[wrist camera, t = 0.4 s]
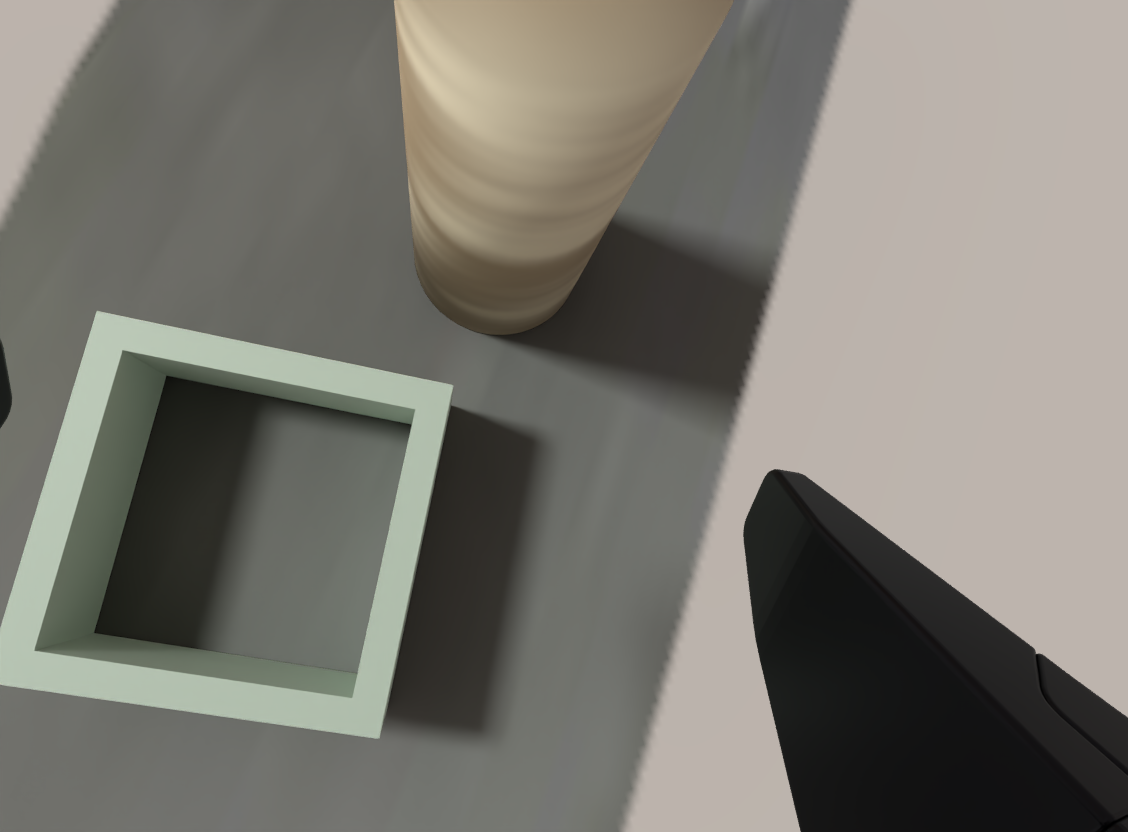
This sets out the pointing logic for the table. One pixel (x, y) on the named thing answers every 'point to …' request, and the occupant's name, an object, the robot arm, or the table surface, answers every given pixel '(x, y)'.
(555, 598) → the table surface
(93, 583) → the sage collar
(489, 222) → the maple dowel
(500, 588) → the table surface
